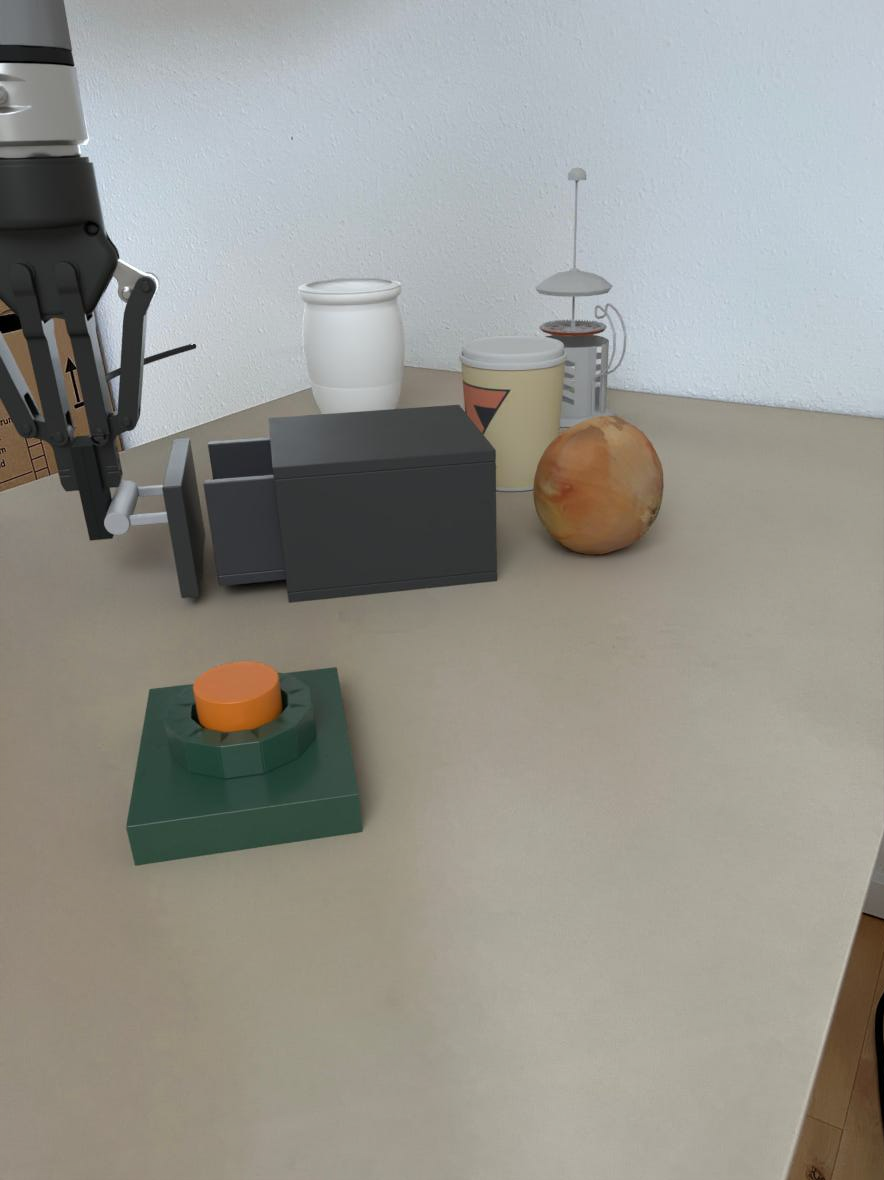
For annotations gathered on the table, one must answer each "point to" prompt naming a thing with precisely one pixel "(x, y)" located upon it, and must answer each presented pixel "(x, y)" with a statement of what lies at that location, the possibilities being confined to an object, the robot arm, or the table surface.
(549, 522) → the onion
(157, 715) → the green button housing
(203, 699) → the button
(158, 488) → the pull-out drawer
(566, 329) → the french press
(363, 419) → the drawer cabinet
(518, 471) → the coffee cup
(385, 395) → the jar
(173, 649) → the table surface
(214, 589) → the table surface
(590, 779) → the table surface
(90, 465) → the robot arm
